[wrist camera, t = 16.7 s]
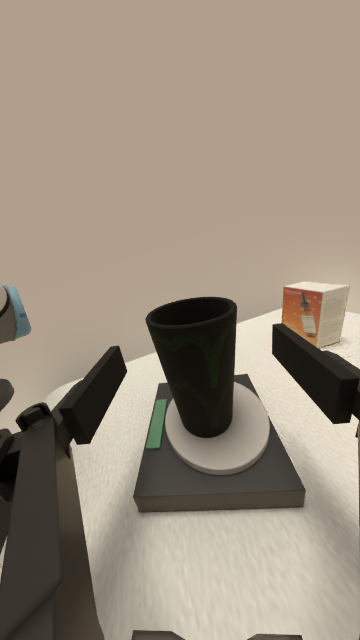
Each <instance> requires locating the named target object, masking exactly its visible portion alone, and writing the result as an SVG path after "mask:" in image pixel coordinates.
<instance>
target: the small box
mask: <svg viewBox="0 0 360 640" xmlns="http://www.w3.org/2000/svg"><path fill="white" fill-rule="evenodd" d="M349 288H350V286H349V285H336V284H325V283H314V282H308V281H305V282H300V283H296V284H292V285H287V286H284V290H283V308H282V323H283V324H284V325H286V326H287V327H288V328H290V329H291V330H293V331H294V332H296V333H297V334H298V335H300V336H301V337H303V338H304V339H306V340H307V341H308V342H310V343H311V344H313V345H314V346H315V347H317V348H321V347H324V346H327V345H330V344H333V343H336V342H339V341H340V337H341V331H342V326H343V321H344V316H345V310H346V304H347V299H348V294H349Z"/></svg>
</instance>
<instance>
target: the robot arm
mask: <svg viewBox="0 0 360 640" xmlns="http://www.w3.org/2000/svg"><path fill="white" fill-rule="evenodd" d="M30 332H31V326H30V323H29V321H28V318H27V315H26V313H25V310H24V307H23V305H22V302H21V299H20V297H19V294H18V292H17V289H16V288H15V287H14V286H6V285H5V286H2V285H1V284H0V344H1V343H4V342H8V341H14V340H16V339H17V338H20V337H23V336H26V335H28V334H29V333H30ZM272 354H273V355H274V356H275V358H276V359H277V360H278V361H279V362H280V363H281V365H282V366H283V367H284V368H285V369H286V370H287V371H288V373H289V374H290V375H291V376H292V377H293V378H294V379H295V381H296V382H297V383H298V384H299V385H300V386H301V387H302V389H303V390H304V391H305V392H306V393H307V394H308V396H309V397H310V398H311V399H312V400H313V401H314V402H315V404H316V405H317V406H318V407H319V408H320V409H321V410H322V412H323V413H324V414H325V415H326V416H327V417H328V418H329V420H330V421H331V422H332V423H333V424H340V423H350V420H351V415H352V414H353V415H354V416H355V417H356V418H357V419H358V420H359V424H358V428H357V432H356V436H355V437H357V438H358V457H359V524H360V369H358V368H357V367H355V366H354V365H352V364H351V363H349V362H348V361H345V359H343V358H342V357H340V356H339V355H337V354H334V353H332V352H329V351H321V350H320V349H318V348H317V347H315V346H314V345H313V344H311V343H310V342H308V341H307V340H306V339H304V338H303V337H301V336H300V335H298V334H297V333H296V332H294V331H293V330H291V329H290V328H288V327H287V326H286V325H284V324H283V323H281V324H273V331H272ZM126 373H127V369H126V366H125V363H124V360H123V357H122V354H121V351H120V348H119V346H113V347H110V348H109V350H108V351H107V352H106V353H105V354H104V355H103V356H102V358H101V359H100V360H99V361H98V362H97V364H96V365H95V366H94V367H93V368H92V369H91V371H90V372H89V373H88V374H87V375H86V376H85V378H84V379H83V380H81V381H79V382H78V383H77V384H75V385H74V386H73V387H72V388H71V389H70V391H69V393H67V394H66V395H65V396H64V398H63V399H62V400H61V401H60V402H59V403H58V404H57V405H56V406H55V408H54V409H53V410H52V411H50V410H49V408H48V406H47V404H46V403H43V402H42V403H38V404H35V405H33V406H31V407H29V408H27V409H26V410H24V411H23V412H22V413H21V414H20V415H19V416H18V417H17V419H16V423H17V424H18V426H19V427H20V429H21V430H22V431H21V432H18V433H15V434H11V432H10V431H9V430H8V429H2V430H0V554H1V551H2V548H3V545H4V543H5V540H6V537H7V542H6V548H5V555H4V561H3V568H2V575H1V581H0V640H105V639H104V636H103V633H102V630H101V627H100V624H99V621H98V617H97V612H96V606H95V599H94V593H93V586H92V580H91V573H90V567H89V560H88V553H87V547H86V540H85V534H84V527H83V521H82V514H81V508H80V501H79V494H78V488H77V481H76V475H75V468H74V462H73V455H72V448H71V447H70V445H69V444H70V442H71V441H72V439H73V438H74V440H75V441H76V443H77V445H80V444H90V442H91V440H92V438H93V436H94V434H95V432H96V431H97V429H98V427H99V425H100V423H101V421H102V419H103V417H104V415H105V413H106V411H107V409H108V407H109V406H110V404H111V402H112V400H113V398H114V396H115V394H116V392H117V390H118V388H119V386H120V384H121V383H122V381H123V379H124V377H125V375H126ZM7 534H8V535H7ZM132 640H185V639H183V638H182V637H180V636H178V635H177V634H175V633H173V632H172V631H141V630H133V635H132ZM247 640H303V639H302V636H301V635H277V634H256V635H254V636H253V637H251V638H249V639H247ZM359 640H360V636H359Z"/></svg>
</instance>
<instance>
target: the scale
mask: <svg viewBox="0 0 360 640" xmlns="http://www.w3.org/2000/svg"><path fill="white" fill-rule="evenodd" d="M133 498H134V500H135V503H136V505H137V507H138V509H139V511H140V512H159V511H189V510H220V509H250V508H281V507H303V505H304V498H305V488H304V486H303V484H302V482H301V480H300V478H299V476H298V474H297V472H296V470H295V468H294V466H293V464H292V462H291V460H290V458H289V456H288V454H287V452H286V450H285V448H284V446H283V444H282V442H281V440H280V438H279V436H278V434H277V432H276V430H275V428H274V426H273V424H272V422H271V420H270V418H269V416H268V414H267V411H266V409H265V407H264V405H263V404H262V402H261V400H260V398H259V396H258V394H257V392H256V390H255V388H254V386H253V384H252V382H251V380H250V378H249V376H248V374H242V375H234V392H233V417H232V422H231V424H230V426H229V428H228V429H227V430H226V431H225V432H224V433H222V434H221V435H219V436H217V437H213V438H201V437H197V436H195V435H193V434H191V433H190V432H188V431H187V430H186V429H185V427H184V426H183V424H182V421H181V418H180V415H179V413H178V410H177V407H176V404H175V401H174V399H173V396H172V393H171V390H170V387H169V385H168V383H160V384H159V385H158V390H157V394H156V399H155V403H154V407H153V412H152V416H151V421H150V425H149V429H148V434H147V438H146V443H145V447H144V451H143V456H142V460H141V465H140V469H139V473H138V478H137V482H136V487H135V491H134V495H133Z"/></svg>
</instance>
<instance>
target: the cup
mask: <svg viewBox="0 0 360 640" xmlns="http://www.w3.org/2000/svg"><path fill="white" fill-rule="evenodd" d="M236 317H237V306H236V303H234V302H233V301H232V300H229V299H226V298H221V297H198V298H190V299H184V300H179V301H176V302H172V303H168V304H165V305H163V306H160V307H158V308H156V309H154V310H153V311H151V312H150V313H149V314H148V315H147V317H146V323H147V326H148V329H149V332H150V334H151V337H152V340H153V343H154V346H155V348H156V351H157V354H158V357H159V360H160V362H161V365H162V368H163V371H164V374H165V376H166V379H167V382H168V385H169V387H170V390H171V393H172V396H173V399H174V401H175V404H176V407H177V410H178V413H179V415H180V418H181V421H182V424H183V426H184V427H185V429H186V430H187V431H188V432H190V433H191V434H193V435H195V436H197V437H201V438H213V437H217V436H219V435H221V434H222V433H224V432H225V431H226V430H227V429H228V428H229V426H230V424H231V422H232V417H233V392H234V368H235V343H236Z"/></svg>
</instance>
